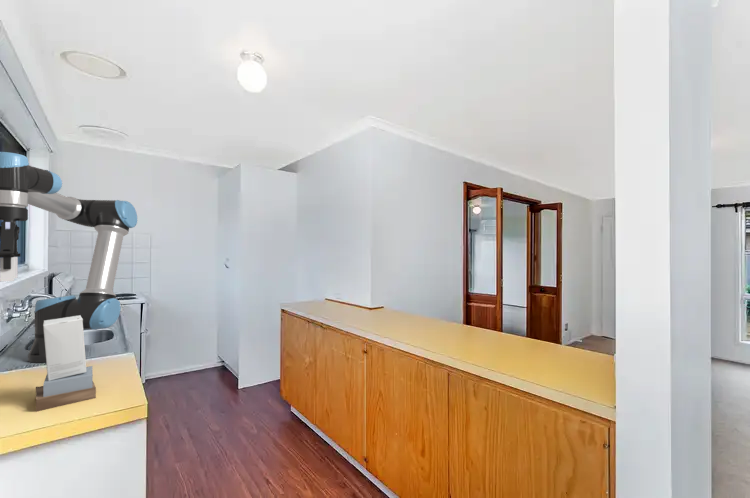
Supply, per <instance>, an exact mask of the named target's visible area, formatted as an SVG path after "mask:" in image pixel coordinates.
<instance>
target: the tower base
mask: <svg viewBox="0 0 750 498" xmlns="http://www.w3.org/2000/svg"><path fill="white" fill-rule="evenodd" d="M96 393H97V388H96V385H95V383H94V381H93V388H88V389H83V390H78V391H73V392H67V393H62V394H57V395H52V396H47V397H43V385H40V386H36V387H35V412H36V413H37V412H41V411H42V412H43V411H45V410H49V409H54V408H58V407H59V408H60V407H63V406H67V405H71V404H76V403H80V402H84V401H88V400H93V399H97V396H96V395H97V394H96Z"/></svg>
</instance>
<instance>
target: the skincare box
mask: <svg viewBox="0 0 750 498" xmlns="http://www.w3.org/2000/svg"><path fill="white" fill-rule="evenodd" d="M43 329H44V341H45V352H46V362H45V363H46V375H48V381H51V380H55V379H59V378H63V377H68V376H72V375H76V374H81V373H85V372H86V367H87V363H86V362H87V359H86V348H85V336H84V335H85V334H84V329H83V319H82V317H81V315H79V316H72V317H65V318H59V319H52V320H44V322H43Z"/></svg>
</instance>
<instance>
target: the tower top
mask: <svg viewBox="0 0 750 498" xmlns="http://www.w3.org/2000/svg"><path fill="white" fill-rule="evenodd" d="M93 382H94V380H93V365H90V366H86V372H85V373H81V374H76V375H72V376H68V377H63V378H59V379H55V380H51V381H48V375H47V374H46V376H45V378H44V382H43V385H42V386H43V397H47V396H52V395H57V394H62V393H67V392H73V391H78V390H83V389H88V388H93Z"/></svg>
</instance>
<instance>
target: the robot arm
mask: <svg viewBox="0 0 750 498" xmlns="http://www.w3.org/2000/svg"><path fill="white" fill-rule="evenodd" d="M62 186H63V180H62V178H61V177H60V176H59V174H57V173H55V172H53V171H51V170H48V169H43V168H39V167H35V166H32V165H30V163H29V159H28V157H27V156H25V155H23V154H19V153H15V152H9V151H8V152H7V151H0V221H1V222H0V282H15V279H18V266H19V265H18V260H19V259H18V258H19V257H21V253H20V252H19V251H18V241H19V237H20V236H19V234H20V229H21V228H20V226H18V224H17V222H26V221H28V219H29V217H28V216H29V210H28V209H27V207H29V205H30V206H33V207H35V208H37V209H41V210H44V211H46V212H49V213H52V214H54V215H56V216H57V217H58V218H60V219H62V220H64V221H67V222H70V223H73V224H76V225H80V226H84V227H89V228H94V230H95V231H96V232H97V235H96V236H97V237H96V241H95V244H94V250H93V254H92V260H91V263H90V266H89V267H90V268H89V271H88V277H87V281H86V286H85V289H84V290H82V291H80V292H79V294H78V295H79V296H78V298H77V297H76V295H73V294H72V295H66V296H63V295H62V296H56V297H51V298H45V299H40V300H37V301H36V302H35V307H34V340H33V342H32V345H31V347H30V350H29V352H28V354H27V361H28V362H29V363H36V364H37V363H38V364H39V363H46V352H45V341H44V329H43V322H44V320H52V319H59V318H65V317H72V316H79V315H81V317H82V319H83V330H100V329H102V330H103V329H108V328H110V327H111V326H113V325H114V324H115V323H116V322H117V321H118V319H119V316H120V315H121V310H122V309H121V308H122V307H121V302H120V301H119V300H118V299H117V294H115V293H114V291H113V290H114V286H115V285H114V284H115V280H116V276H117V275H116V274H117V270H118V266H119V265H118V264H119V261H120V254H121V249H122V245H123V240H124V237H125V236H127V235H128V234H129V231H130V229H133V228H135V227H136V226H137V224H138V215H137V211H136V208H135V207H134V205H133V204H132V203H131V202H129V201H127V200H121V199H116V200H115V199H114V200H113V199H111V200H110V199H109V200H108V199H106V200H105V199H104V200H103V199H102V200H101V199H100V200H99V199H81V198H76V197H73V196H65V195H62V194H60V193H58V192H59V191H60V190H61V189H62Z"/></svg>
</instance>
